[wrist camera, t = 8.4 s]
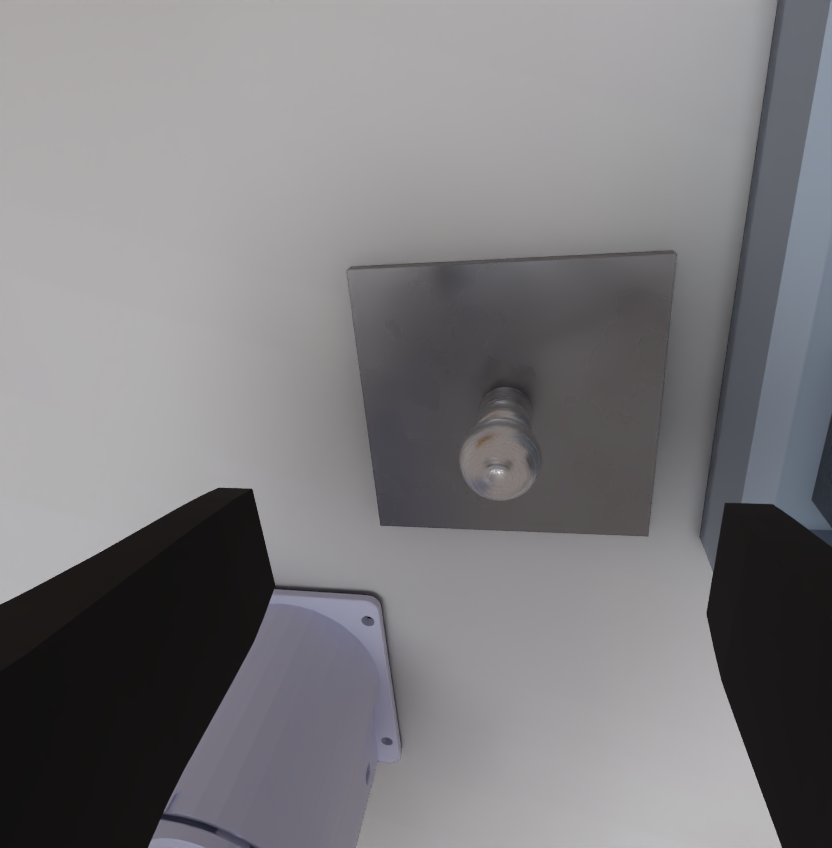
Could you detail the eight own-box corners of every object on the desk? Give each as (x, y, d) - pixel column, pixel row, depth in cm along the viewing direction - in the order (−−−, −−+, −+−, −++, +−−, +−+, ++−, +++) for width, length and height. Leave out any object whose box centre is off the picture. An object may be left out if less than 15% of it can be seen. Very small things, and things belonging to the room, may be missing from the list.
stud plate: (645, 527, 20) (672, 630, 16) (383, 517, 22) (348, 606, 18) (672, 250, 16) (717, 293, 12) (351, 266, 18) (295, 308, 14)
